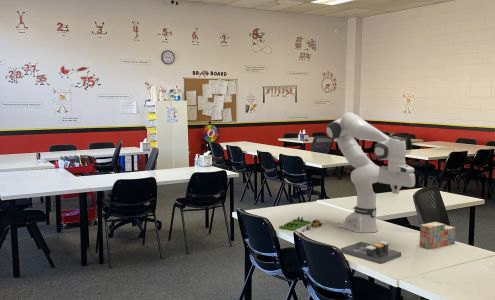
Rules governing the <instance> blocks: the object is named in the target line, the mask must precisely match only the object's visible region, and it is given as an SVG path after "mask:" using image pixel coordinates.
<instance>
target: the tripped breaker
mask: <svg viewBox="0 0 495 300" xmlns="http://www.w3.org/2000/svg"><path fill="white" fill-rule="evenodd" d="M372 245H373V246H374V247H376V249H375V252H377V253H381V252H383V246H384V245H381V244H379V243H375V244H372Z"/></svg>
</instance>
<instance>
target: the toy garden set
mask: <svg viewBox="0 0 495 300" xmlns="http://www.w3.org/2000/svg"><path fill="white" fill-rule="evenodd" d="M305 226H306V227H305ZM322 226H323V223H321V220H319V219H314V220H312V221H310V220H304V217H303V216H302V217H300V216H297V218H293V219H292V220H291V221H288V222H286V223H284V224H281V225H279V227H278V229H280V230H286V231H291V232H294V231H296V230H297V229H299V230H300V229H301V228H302V227H305V228H304V229H303V230H302V231H301V232H304V231H305V230H306V231H311V228H312V227H315V228H318V227H322Z"/></svg>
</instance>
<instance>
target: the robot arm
mask: <svg viewBox="0 0 495 300" xmlns="http://www.w3.org/2000/svg"><path fill="white" fill-rule="evenodd" d="M325 131H326V134H327V136H328V137H329V138H330V139H332V140H336V144H337V145H338V147H339V150H340V151H341V153H342V154H343V157H344V158H345V160H346V161H347V162H348V164H349V165H350V166H352V167H353V168H355V169H353V170H352V171H351V172H350V179H351V182H352V183H353V185H354V187H355V190H356V205H355V206H353V207H352V208H353V210H354V211H352V212H351V213H350V214H349V215H347V216H346V217H345V218H344V219H345V220H344V223H342V224H341V225H340V228H342V229H345V230H348V231H351V232H354V233H371V234H372V233H376V232H378V226H377V218H376V216H377V195H376V193H375V192H374V190H373V184H376V183H379V184H384V185H385V184H386V185H390V188H391V190H392V191H391V192H392V194H395V195H396V194H398V195H399V193H400V190H401V188H402V187H406V188H414V187H415V185H416V175H415V173H414V172H415V168H414V167H413V166H410V165H408V164H407V163H406V154H407V143H406V140H405V138H403V137H400V136H390V135H388V134H386V133H385V132H383V131H382V130H380V129H378V128H376V127H375V126H374V125H372V124H371V123H368V122H367V121H366V120H364V119H363V118H362V117H360V116H359V115H357V114H356V113H354V112H352V111H349V112H348V111H347V112H345V113H343V115H342V116H341V117H339V118H338V119H336V120H333V121H331V122H329V123H328V124H327V125H326V128H325ZM357 140H365V141H373V142H376V144H375V146H374V148H373V150H374V151H373V153H374V156H375V158H376V159H378V160H381V161H384V160H385V161H386V160H387V166H385V165H381V166H379V165H377V164H375V162H373V161H372V160H371V159H370V158H369V157H368V156H367V155H366V154H365V152H364V151H363V149H362V148H361V146H360V145H359V143H358V142H357ZM395 187H396V188H395Z"/></svg>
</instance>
